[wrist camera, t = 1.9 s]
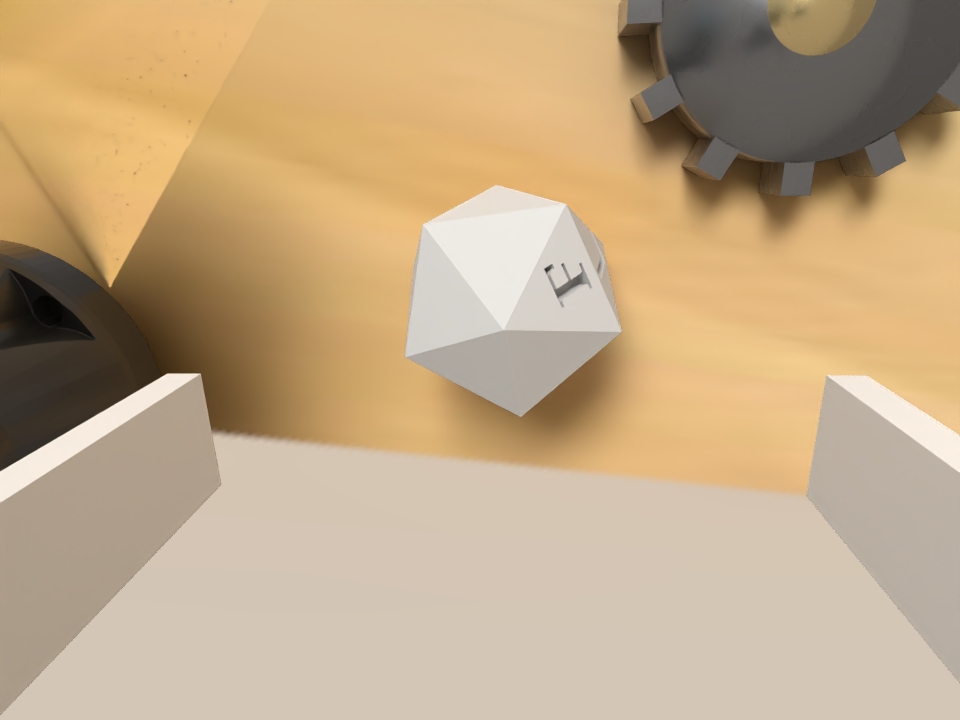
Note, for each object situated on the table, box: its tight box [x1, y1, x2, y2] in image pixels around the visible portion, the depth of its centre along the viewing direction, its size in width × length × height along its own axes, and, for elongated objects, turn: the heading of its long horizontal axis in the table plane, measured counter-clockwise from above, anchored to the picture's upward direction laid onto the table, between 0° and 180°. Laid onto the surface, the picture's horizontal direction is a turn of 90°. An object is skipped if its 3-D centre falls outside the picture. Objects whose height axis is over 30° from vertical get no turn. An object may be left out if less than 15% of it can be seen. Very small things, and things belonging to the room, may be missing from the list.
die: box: [405, 185, 622, 417], centre depth 25 cm, size 8×9×10 cm
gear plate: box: [618, 0, 960, 196], centre depth 24 cm, size 15×15×2 cm
